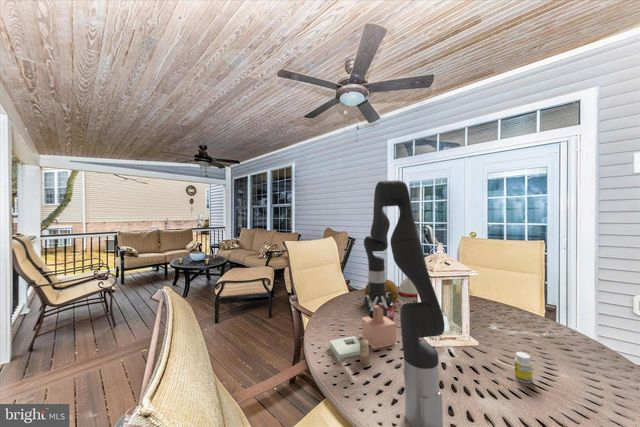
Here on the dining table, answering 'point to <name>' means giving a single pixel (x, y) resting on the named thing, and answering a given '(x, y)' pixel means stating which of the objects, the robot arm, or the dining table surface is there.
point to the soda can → (389, 311)
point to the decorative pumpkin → (389, 288)
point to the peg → (364, 352)
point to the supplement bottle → (523, 367)
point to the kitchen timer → (407, 288)
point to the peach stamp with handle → (378, 329)
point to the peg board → (345, 347)
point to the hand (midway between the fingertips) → (377, 317)
